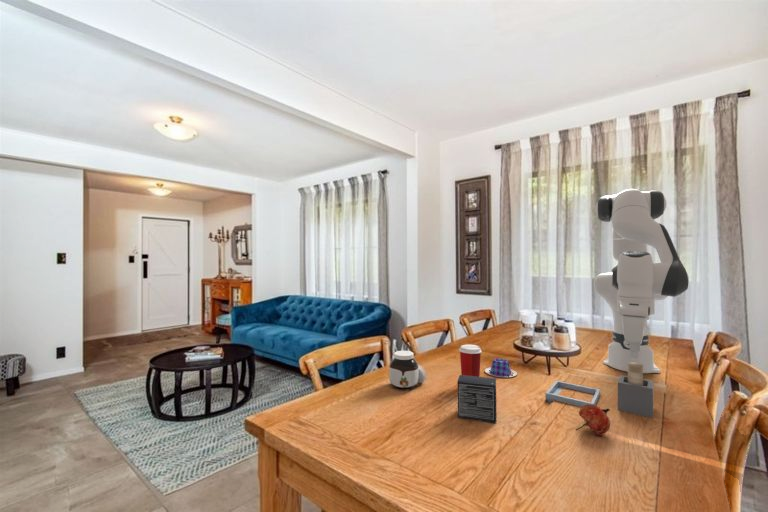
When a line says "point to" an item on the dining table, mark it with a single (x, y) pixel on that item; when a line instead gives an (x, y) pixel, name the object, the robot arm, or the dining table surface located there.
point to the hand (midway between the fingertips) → (635, 354)
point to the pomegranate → (595, 419)
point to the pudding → (500, 368)
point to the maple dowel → (635, 373)
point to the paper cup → (470, 360)
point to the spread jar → (405, 371)
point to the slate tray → (556, 389)
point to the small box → (477, 398)
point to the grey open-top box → (635, 397)
